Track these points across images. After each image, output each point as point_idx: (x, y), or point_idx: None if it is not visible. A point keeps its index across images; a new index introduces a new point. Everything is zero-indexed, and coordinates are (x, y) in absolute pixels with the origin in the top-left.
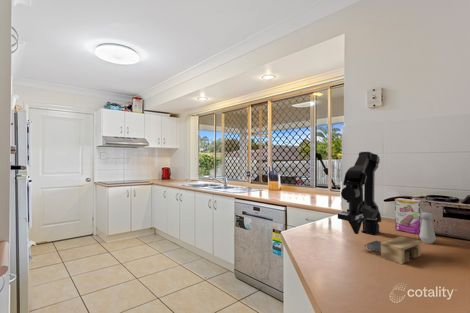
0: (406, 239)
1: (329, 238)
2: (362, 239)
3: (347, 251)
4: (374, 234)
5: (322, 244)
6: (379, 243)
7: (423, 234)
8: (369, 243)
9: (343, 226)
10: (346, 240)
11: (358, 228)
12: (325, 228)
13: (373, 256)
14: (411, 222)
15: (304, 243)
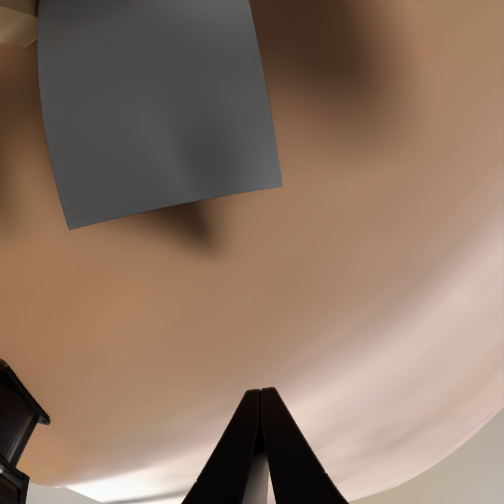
0: None
1: (336, 435)
2: (112, 363)
3: (496, 201)
4: (1, 366)
5: (473, 362)
6: (112, 124)
7: None
8: (247, 169)
9: (97, 475)
10: None
11: (253, 458)
12: None
13: (418, 9)
14: None
15: (500, 382)
